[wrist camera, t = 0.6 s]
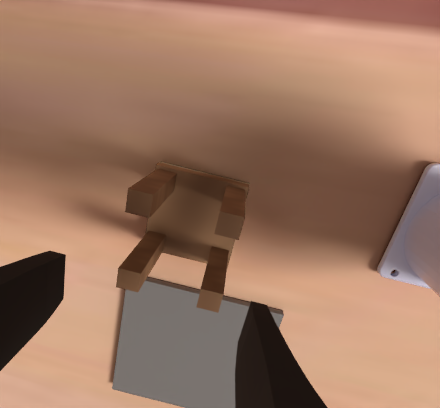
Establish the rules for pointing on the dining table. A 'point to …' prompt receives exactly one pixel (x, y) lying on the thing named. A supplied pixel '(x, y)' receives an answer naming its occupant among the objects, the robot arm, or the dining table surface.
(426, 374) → the dining table surface
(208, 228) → the stool
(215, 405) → the mat
